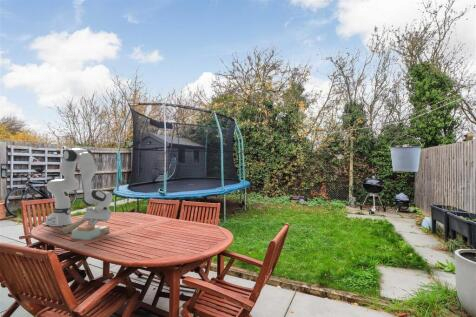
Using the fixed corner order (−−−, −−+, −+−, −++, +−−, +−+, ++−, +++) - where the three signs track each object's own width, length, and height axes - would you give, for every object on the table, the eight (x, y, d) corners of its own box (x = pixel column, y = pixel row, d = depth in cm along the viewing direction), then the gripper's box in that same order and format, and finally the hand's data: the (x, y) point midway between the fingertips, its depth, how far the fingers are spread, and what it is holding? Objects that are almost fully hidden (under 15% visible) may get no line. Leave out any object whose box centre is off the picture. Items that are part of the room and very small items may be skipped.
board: (83, 234, 220) (83, 229, 220) (93, 230, 232) (93, 225, 232) (99, 235, 218) (99, 230, 218) (109, 231, 230) (109, 226, 230)
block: (86, 233, 218) (77, 237, 210) (86, 224, 218) (77, 227, 210) (94, 234, 217) (86, 237, 208) (94, 225, 217) (86, 228, 208)
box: (71, 238, 209) (71, 230, 209) (83, 234, 220) (83, 226, 220) (89, 240, 206) (89, 231, 206) (99, 235, 218) (100, 227, 218)
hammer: (65, 222, 218) (93, 206, 246) (60, 221, 219) (88, 206, 247) (68, 241, 222) (96, 223, 250) (63, 240, 223) (91, 223, 251)
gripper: (86, 206, 229) (77, 222, 219) (110, 208, 225) (102, 223, 216) (90, 211, 233) (81, 226, 224) (113, 213, 230) (105, 228, 220)
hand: (91, 225), depth 220 cm, fingers closed
